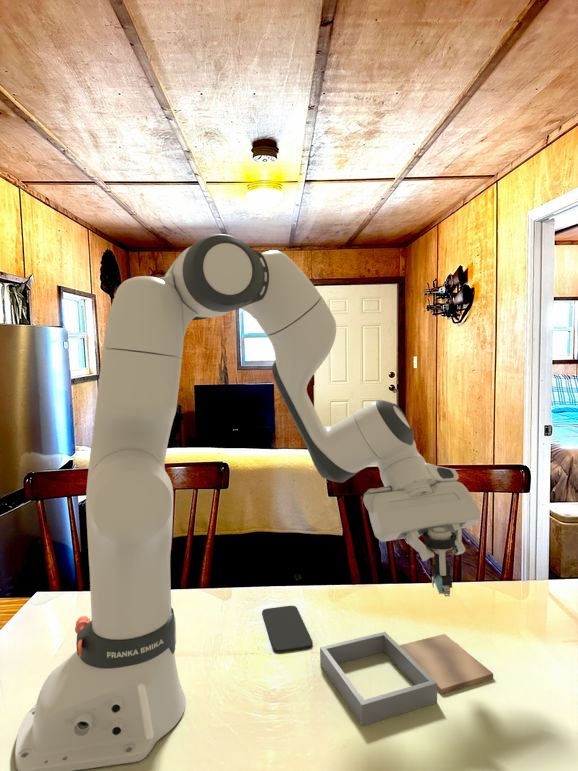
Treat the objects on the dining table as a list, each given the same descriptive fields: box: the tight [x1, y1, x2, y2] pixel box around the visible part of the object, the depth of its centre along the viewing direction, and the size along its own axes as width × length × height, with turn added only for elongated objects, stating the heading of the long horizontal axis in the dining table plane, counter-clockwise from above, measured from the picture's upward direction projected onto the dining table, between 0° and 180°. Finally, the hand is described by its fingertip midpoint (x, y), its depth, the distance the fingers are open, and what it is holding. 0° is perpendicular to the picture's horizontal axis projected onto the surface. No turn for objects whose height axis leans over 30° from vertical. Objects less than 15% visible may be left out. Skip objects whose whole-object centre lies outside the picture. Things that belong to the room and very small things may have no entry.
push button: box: [422, 526, 456, 597], centre depth 79 cm, size 7×5×10 cm
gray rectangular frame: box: [319, 631, 438, 727], centre depth 75 cm, size 13×15×3 cm
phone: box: [261, 605, 313, 654], centre depth 91 cm, size 7×1×15 cm
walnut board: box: [398, 633, 494, 695], centre depth 80 cm, size 10×12×1 cm
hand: (444, 556), depth 78 cm, fingers closed on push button, 5 cm apart
